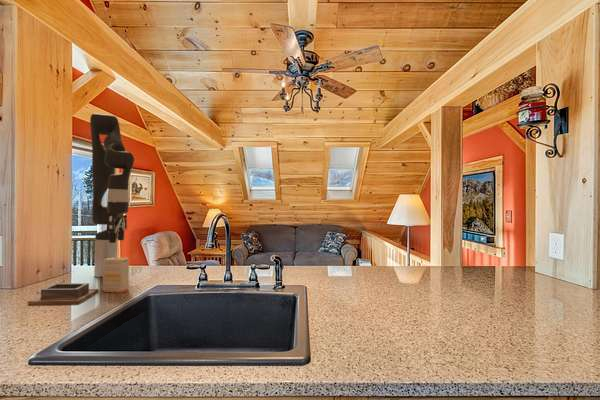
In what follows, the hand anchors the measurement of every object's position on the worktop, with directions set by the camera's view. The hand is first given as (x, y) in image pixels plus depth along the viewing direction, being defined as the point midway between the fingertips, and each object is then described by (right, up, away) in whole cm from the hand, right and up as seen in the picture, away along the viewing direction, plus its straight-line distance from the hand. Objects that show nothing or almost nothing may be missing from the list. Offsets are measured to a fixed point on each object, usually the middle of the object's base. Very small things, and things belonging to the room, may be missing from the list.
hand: (116, 241), depth 138 cm
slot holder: (-13, -19, -11) cm, 26 cm away
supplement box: (-1, -20, 0) cm, 20 cm away
